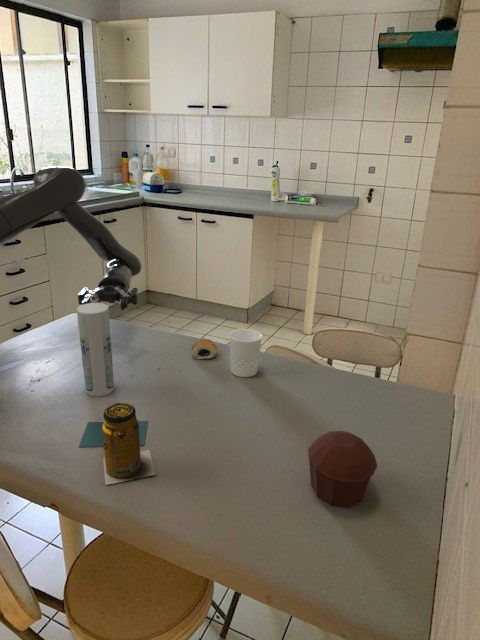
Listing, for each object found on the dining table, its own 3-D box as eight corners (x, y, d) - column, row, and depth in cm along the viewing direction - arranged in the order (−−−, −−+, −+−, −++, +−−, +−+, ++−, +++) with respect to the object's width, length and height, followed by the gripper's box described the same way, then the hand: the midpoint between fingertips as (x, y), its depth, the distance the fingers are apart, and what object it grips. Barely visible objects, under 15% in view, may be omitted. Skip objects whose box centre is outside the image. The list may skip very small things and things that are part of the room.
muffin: (304, 462, 85) (309, 416, 81) (365, 468, 84) (373, 422, 80) (305, 511, 74) (311, 460, 70) (376, 518, 73) (385, 467, 70)
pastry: (192, 344, 130) (192, 332, 128) (216, 345, 130) (217, 332, 129) (191, 360, 121) (191, 347, 120) (217, 360, 122) (217, 347, 120)
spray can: (84, 384, 108) (76, 303, 100) (113, 380, 110) (107, 301, 102) (85, 398, 102) (76, 314, 95) (115, 394, 104) (109, 312, 97)
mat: (78, 447, 87) (78, 446, 87) (87, 422, 94) (87, 421, 94) (143, 445, 88) (143, 445, 88) (147, 421, 95) (147, 420, 95)
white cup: (235, 361, 121) (237, 326, 118) (264, 367, 119) (266, 332, 115) (223, 374, 115) (224, 337, 111) (253, 381, 112) (255, 344, 108)
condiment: (102, 458, 84) (97, 402, 80) (149, 450, 87) (147, 395, 82) (105, 486, 78) (100, 426, 73) (156, 476, 80) (153, 417, 76)
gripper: (86, 271, 123) (71, 291, 108) (140, 271, 124) (133, 291, 110) (89, 298, 126) (74, 321, 111) (142, 298, 127) (135, 320, 112)
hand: (104, 306), depth 110 cm, fingers open, 8 cm apart
